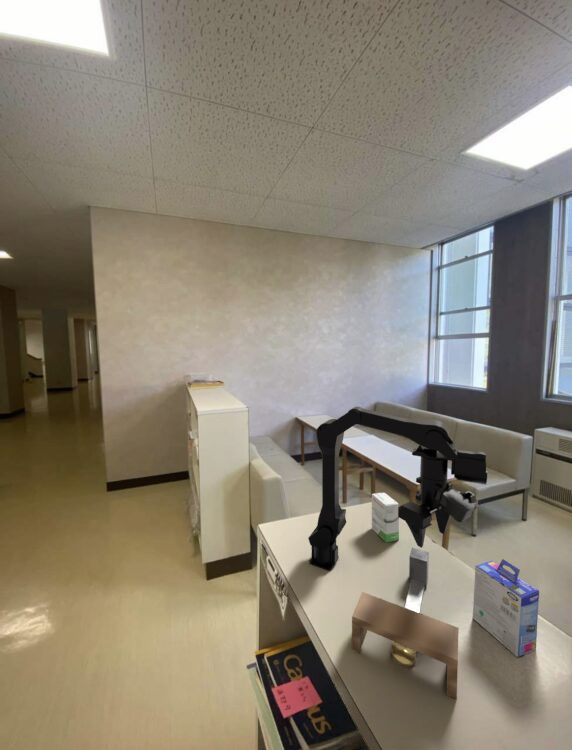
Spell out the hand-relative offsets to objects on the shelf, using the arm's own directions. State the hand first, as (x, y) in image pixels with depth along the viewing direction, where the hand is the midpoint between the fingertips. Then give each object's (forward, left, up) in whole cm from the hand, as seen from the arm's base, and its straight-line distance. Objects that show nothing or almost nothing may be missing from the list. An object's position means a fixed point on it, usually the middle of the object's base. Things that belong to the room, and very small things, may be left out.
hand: (431, 539), depth 74 cm
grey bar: (-3, -4, -14) cm, 14 cm away
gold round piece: (-3, -19, -14) cm, 24 cm away
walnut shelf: (-3, -19, -14) cm, 24 cm away
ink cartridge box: (+14, -4, -14) cm, 20 cm away
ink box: (-15, +20, -14) cm, 28 cm away
